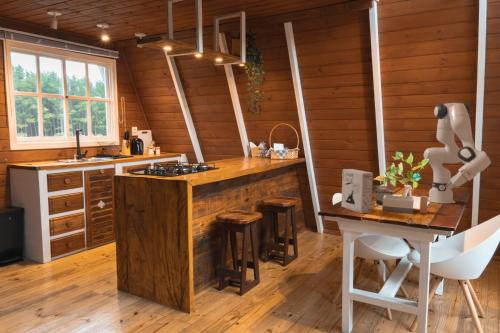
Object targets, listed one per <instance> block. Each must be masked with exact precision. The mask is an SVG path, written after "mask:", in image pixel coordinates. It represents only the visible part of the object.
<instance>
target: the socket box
mask: <svg viewBox="0 0 500 333" xmlns="http://www.w3.org/2000/svg"><path fill="white" fill-rule="evenodd" d="M381 206H382V212H395V213H404V214H405V213H406V214H407V213H408V214H413V213H414V196H407V195H406V196H405V195H395V194H393V195H384V197H383V205H381Z"/></svg>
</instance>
